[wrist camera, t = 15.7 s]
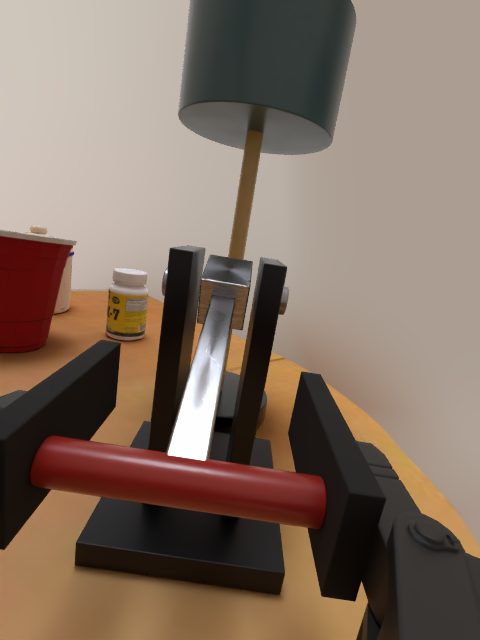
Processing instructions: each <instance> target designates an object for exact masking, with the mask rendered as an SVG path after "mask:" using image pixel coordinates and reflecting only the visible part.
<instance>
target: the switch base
mask: <svg viewBox="0 0 480 640" xmlns="http://www.w3.org/2000/svg"><path fill="white" fill-rule="evenodd" d="M204 256H205V248H201V247H195V246H181V247H174V248H170V252H169V261H168V268H166V270H165V272H164V276H163V282H162V293H163V295H164V296H165V298H164V307H163V316H162V325H161V334H160V344H159V353H158V362H157V371H156V380H155V389H154V399H153V408H152V417H151V422H148V421H144V422H143V424H142V426H141V428H140V430H139V431H138V433H137V435H136V437H135V438H134V440H133V442H132V444H131V446H130V447H133V448H139V449H146V450H152V451H159V452H165V453H166V450H167V447H168V444H169V440H170V437H171V433H172V430H173V426H174V423H175V420H176V416H177V413H178V409H179V406H180V402H181V399H182V396H183V392H184V389H185V385H186V382H187V378H188V375H189V369H190V362H191V354H192V347H193V339H194V332H195V324H196V317H197V309H198V302H199V294H200V283H201V278H202V271H203V264H204ZM286 272H287V267H286V266H285V265H284V264H282V263H281V262H280V261H278V260H275V259H269V258H262V257H261V258H260V263H259V269H258V275H257V280H256V286H255V292H254V298H253V304H252V310H251V315H250V321H249V327H248V333H247V339H246V345H245V350H244V356H243V362H242V368H241V374H240V380H239V386H238V391H237V397H236V403H235V409H234V415H233V421H232V427H231V432H230V434H225V433H219V432H213V438H212V444H211V450H210V456H209V459H211V460H218V461H224V462H231V463H237V464H244V465H250V466H257V467H263V468H270V469H273V462H272V453H271V444H270V440H264V439H258V438H255V435H256V430H257V425H258V419H259V414H260V409H261V404H262V398H263V393H264V388H265V383H266V377H267V372H268V367H269V362H270V356H271V351H272V346H273V341H274V335H275V330H276V325H277V319H278V314H280V315H283V314H284V313H285V310H286V306H287V301H288V294H289V290H288V287H285V286H284V283H285V278H286ZM75 565H80V566H87V567H94V568H101V569H108V570H114V571H121V572H128V573H135V574H142V575H148V576H155V577H162V578H169V579H176V580H183V581H189V582H196V583H203V584H210V585H217V586H223V587H230V588H237V589H244V590H251V591H257V592H264V593H271V594H278V595H280V592H281V588H282V584H283V580H284V576H285V569H284V560H283V551H282V542H281V533H280V524H279V523H272V522H266V521H259V520H252V519H246V518H239V517H232V516H226V515H219V514H212V513H206V512H199V511H192V510H186V509H179V508H173V507H166V506H159V505H153V504H146V503H139V502H133V501H126V500H119V499H113V498H106V497H101V499H100V501H99V503H98V504H97V506H96V508H95V510H94V512H93V513H92V515H91V517H90V519H89V520H88V522H87V524H86V526H85V528H84V529H83V531H82V533H81V535H80V536H79V538H78V540H77V542H76V552H75Z"/></svg>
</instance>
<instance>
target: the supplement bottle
mask: <svg viewBox="0 0 480 640" xmlns="http://www.w3.org/2000/svg"><path fill="white" fill-rule="evenodd" d="M113 281H114V282H115V283H114V284H112V285H111V286H110V288H109V299H108V313H107V326H106V333H107V335H108V336H110V337H111V338H114V339H118V340H137V339H141V338H142V337H143V336H144V333H145V323H146V313H147V302H148V289H147V288H146V287H144V285H145V284H146V282H147V273H146V272H143V271H139V270H133V269H123V268H117V269H114V273H113Z"/></svg>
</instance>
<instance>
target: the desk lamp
mask: <svg viewBox="0 0 480 640" xmlns="http://www.w3.org/2000/svg"><path fill="white" fill-rule="evenodd" d="M355 27H356V13H355V9H354V6H353V4H352V2H351V0H190V7H189V16H188V27H187V36H186V45H185V55H184V64H183V73H182V83H181V93H180V102H179V112H178V116H179V119H180V121H181V122H182V123H183V124H184V125H185V126H186V127H187V128H188V129H190V130H191V131H193V132H195V133H196V134H198V135H200V136H203V137H205V138H207V139H210V140H212V141H215V142H218V143H221V144H224V145H228V146H231V147H236V148H239V149H244V155H243V162H242V168H241V175H240V181H239V189H238V195H237V202H236V208H235V215H234V222H233V229H232V235H231V242H230V249H229V255H228V258H234V259H241V260H243V259H244V253H245V246H246V240H247V234H248V227H249V221H250V215H251V209H252V203H253V195H254V190H255V184H256V177H257V171H258V165H259V159H260V152H261V153H270V154H284V155H296V154H308V153H314V152H318V151H321V150H324V149H326V148H327V147H329V146H330V144H331V143H332V140H333V135H334V130H335V126H336V121H337V115H338V111H339V105H340V101H341V96H342V91H343V86H344V80H345V76H346V71H347V66H348V62H349V57H350V51H351V47H352V42H353V37H354V32H355ZM231 334H232V329H231V331H230V337H229V343H228V349H227V355H226V360H225V366H224V372H223V378H222V384H221V390H220V396H219V402H218V408H217V414H216V420H215V426H214V432H219V433H225V434H230V432H231V427H232V421H233V415H234V409H235V403H236V397H237V391H238V386H239V380H240V375H238V374H235V373H231V372H227V371H226V366H227V359H228V353H229V347H230V340H231ZM189 371H190V369H189ZM266 405H267V396H266V393H265V391H264V393H263V398H262V404H261V409H260V414H259V419H258V425H257V429H258V428H259V427H260V425H261V424H262V422H263V420H264V415H265V410H266Z"/></svg>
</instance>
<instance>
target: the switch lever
mask: <svg viewBox="0 0 480 640" xmlns="http://www.w3.org/2000/svg"><path fill="white" fill-rule="evenodd" d="M252 264H253V262H252V261H247V260H241V259H234V258H228V257H222V256H216V255H210V256H209V259H208V262H207V264H206V267H205V270H204V272H203V275H202V278H201V283H200V295H199V306H198V317H197V323H200V324H203V327H202V330H201V334H200V337H199V341H198V344H197V347H196V351H195V354H194V358H193V361H192V365H191V368H190V371H189V375H188V378H187V382H186V385H185V389H184V392H183V396H182V399H181V402H180V406H179V409H178V413H177V416H176V420H175V423H174V426H173V430H172V433H171V437H170V440H169V444H168V447H167V450H166V453H165V452H159V451H152V450H146V449H139V448H133V447H126V446H119V445H113V444H106V443H100V442H93V441H87V440H80V439H74V438H67V437H61V436H54V435H53V436H49V437H48V438H46V439H45V440H44V441H43V443H42V444H41V445H40V447H39V448H38V450H37V452H36V454H35V457H34V459H33V462H32V466H31V471H30V481H31V484H32V485H33V486H34V487H39V488H46V489H53V490H59V491H66V492H73V493H79V494H86V495H93V496H99V497H106V498H113V499H119V500H126V501H133V502H139V503H146V504H153V505H159V506H166V507H173V508H179V509H186V510H192V511H199V512H206V513H212V514H219V515H226V516H232V517H239V518H246V519H252V520H259V521H266V522H272V523H279V524H286V525H292V526H299V527H306V528H312V529H320V528H321V527H322V526H323V523H324V520H325V515H326V507H327V496H326V487H325V483H324V480H323V478H322V477H320V476H316V475H309V474H303V473H296V472H290V471H283V470H276V469H270V468H263V467H257V466H250V465H244V464H237V463H231V462H224V461H218V460H211V459H209V456H210V450H211V444H212V438H213V432H214V426H215V420H216V414H217V408H218V402H219V396H220V390H221V384H222V378H223V372H224V366H225V360H226V355H227V349H228V343H229V337H230V331H231V329H237V330H242V329H243V324H244V318H245V313H246V307H247V302H248V296H249V290H250V282H251V274H252Z"/></svg>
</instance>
